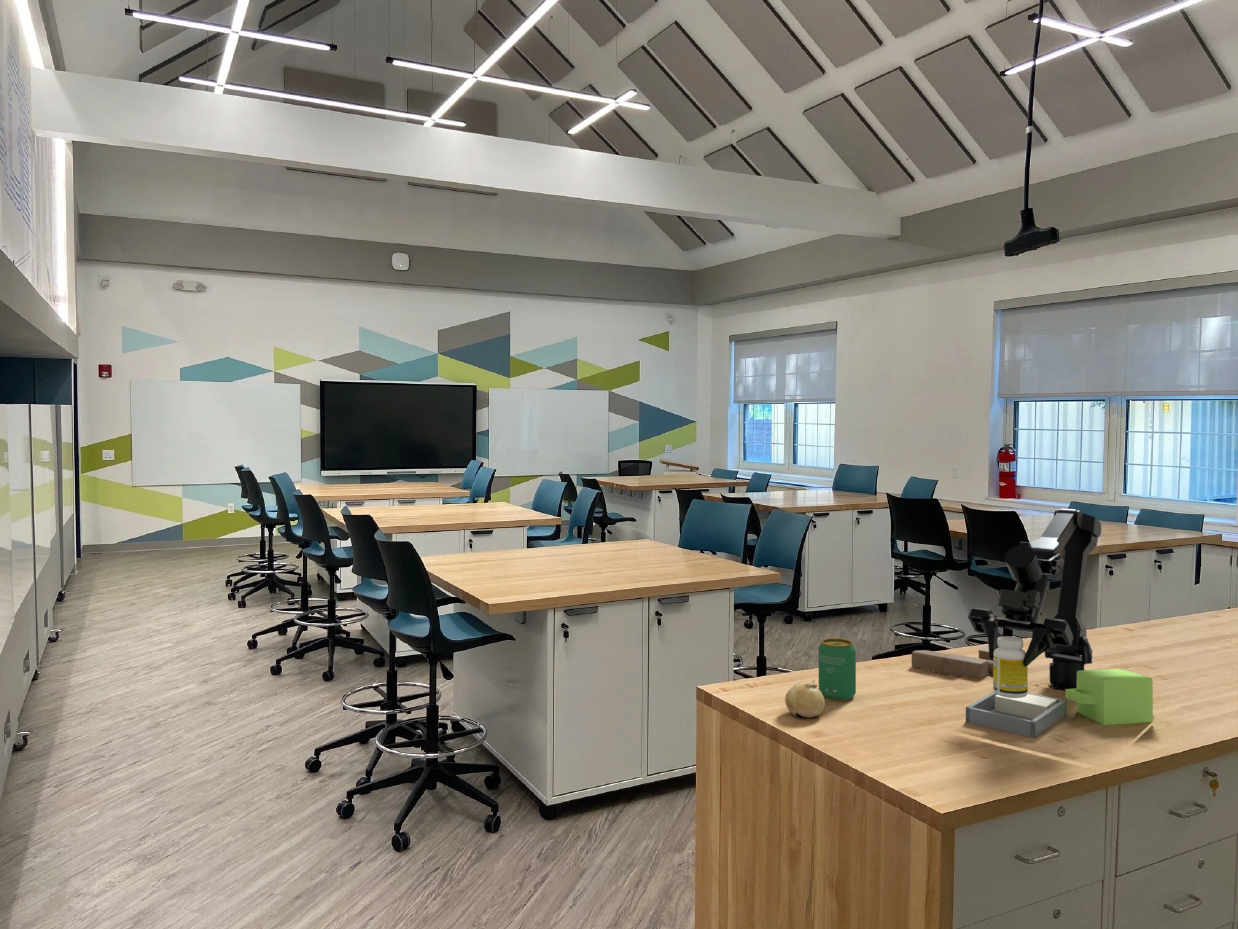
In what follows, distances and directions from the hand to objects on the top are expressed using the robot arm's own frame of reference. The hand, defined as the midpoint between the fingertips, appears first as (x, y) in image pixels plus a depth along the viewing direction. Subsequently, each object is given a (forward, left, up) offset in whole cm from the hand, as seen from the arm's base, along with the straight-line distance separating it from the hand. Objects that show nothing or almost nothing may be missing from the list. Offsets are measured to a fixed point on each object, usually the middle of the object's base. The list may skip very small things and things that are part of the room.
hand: (1007, 662), depth 168 cm
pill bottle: (-1, -1, -7) cm, 7 cm away
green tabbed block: (-20, -14, -13) cm, 28 cm away
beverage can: (+34, -7, -13) cm, 37 cm away
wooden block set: (+10, -41, -14) cm, 45 cm away
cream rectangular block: (-4, -9, -12) cm, 16 cm away
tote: (-2, -4, -13) cm, 14 cm away
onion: (+38, +8, -13) cm, 41 cm away
